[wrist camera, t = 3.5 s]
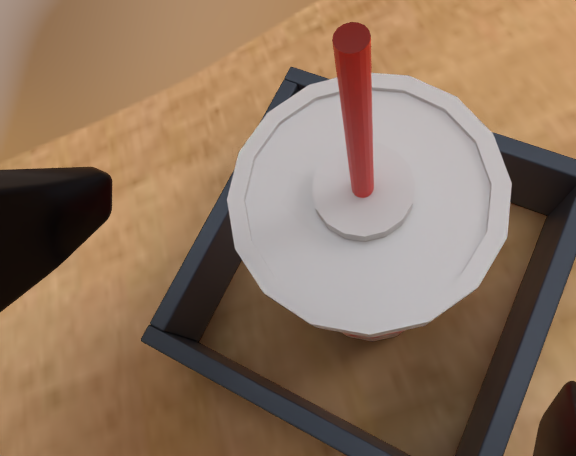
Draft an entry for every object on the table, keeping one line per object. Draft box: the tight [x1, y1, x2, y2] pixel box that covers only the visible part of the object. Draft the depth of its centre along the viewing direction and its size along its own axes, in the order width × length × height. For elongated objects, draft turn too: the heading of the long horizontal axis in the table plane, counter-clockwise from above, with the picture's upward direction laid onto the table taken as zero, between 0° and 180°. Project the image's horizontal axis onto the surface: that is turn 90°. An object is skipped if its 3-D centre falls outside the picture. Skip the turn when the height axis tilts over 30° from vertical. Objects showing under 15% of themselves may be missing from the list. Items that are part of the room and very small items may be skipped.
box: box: [141, 67, 576, 456], centre depth 18 cm, size 11×11×4 cm
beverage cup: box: [227, 22, 512, 342], centre depth 13 cm, size 6×6×14 cm
